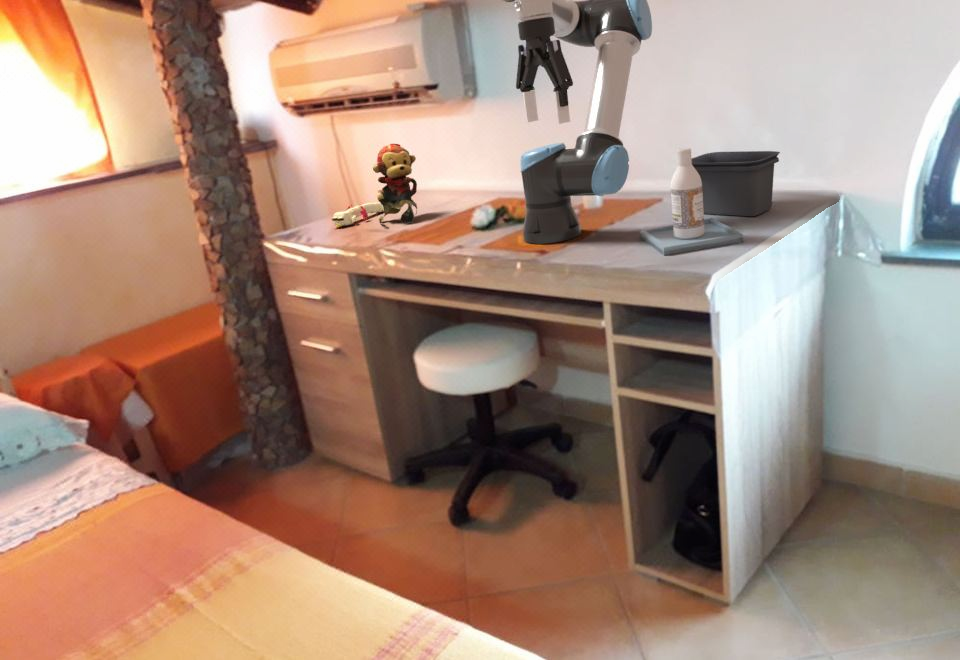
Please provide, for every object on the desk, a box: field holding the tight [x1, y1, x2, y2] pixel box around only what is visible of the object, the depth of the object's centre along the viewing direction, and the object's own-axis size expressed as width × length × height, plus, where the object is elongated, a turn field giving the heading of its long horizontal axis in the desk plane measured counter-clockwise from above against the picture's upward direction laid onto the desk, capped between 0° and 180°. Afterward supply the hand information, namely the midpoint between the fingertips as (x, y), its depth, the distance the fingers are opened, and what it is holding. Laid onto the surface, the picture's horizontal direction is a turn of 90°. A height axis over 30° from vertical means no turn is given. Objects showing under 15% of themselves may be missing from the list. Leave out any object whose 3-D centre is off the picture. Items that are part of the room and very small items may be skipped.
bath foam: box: [670, 147, 705, 239], centre depth 178 cm, size 7×7×20 cm
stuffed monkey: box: [372, 143, 418, 224], centre depth 250 cm, size 15×17×25 cm
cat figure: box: [331, 189, 384, 228], centre depth 264 cm, size 10×9×25 cm
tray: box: [640, 217, 744, 256], centre depth 182 cm, size 18×18×2 cm
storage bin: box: [691, 150, 781, 217], centre depth 198 cm, size 21×16×14 cm
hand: (547, 122), depth 170 cm, fingers open, 13 cm apart
